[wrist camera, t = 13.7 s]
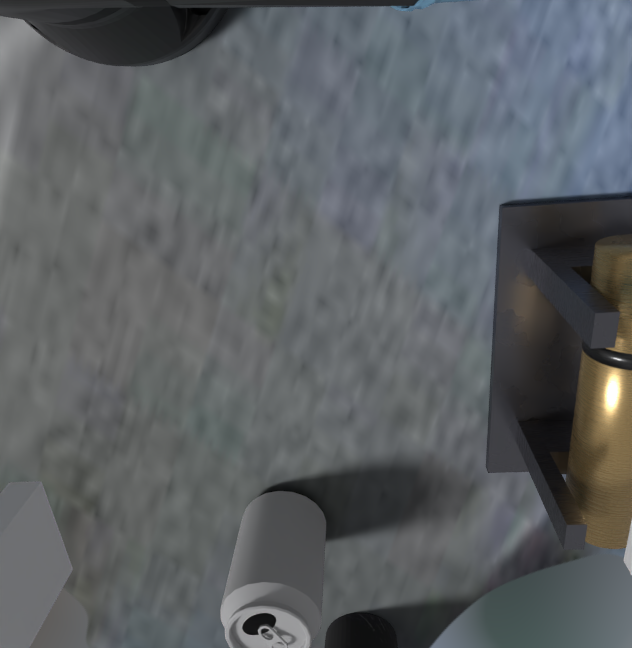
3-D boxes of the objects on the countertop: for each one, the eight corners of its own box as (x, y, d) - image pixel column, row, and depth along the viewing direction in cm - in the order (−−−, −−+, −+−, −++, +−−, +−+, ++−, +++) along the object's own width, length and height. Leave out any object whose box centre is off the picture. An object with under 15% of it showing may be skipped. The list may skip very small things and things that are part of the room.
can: (287, 469, 48) (268, 587, 37) (344, 521, 50) (342, 646, 39) (227, 512, 50) (193, 634, 39) (283, 559, 52) (266, 688, 42)
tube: (594, 232, 34) (593, 258, 30) (692, 235, 32) (707, 263, 28) (562, 489, 42) (558, 537, 38) (639, 505, 40) (644, 558, 36)
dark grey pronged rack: (499, 205, 38) (559, 258, 27) (702, 191, 37) (847, 241, 26) (485, 466, 47) (526, 584, 36) (647, 461, 46) (739, 582, 35)
